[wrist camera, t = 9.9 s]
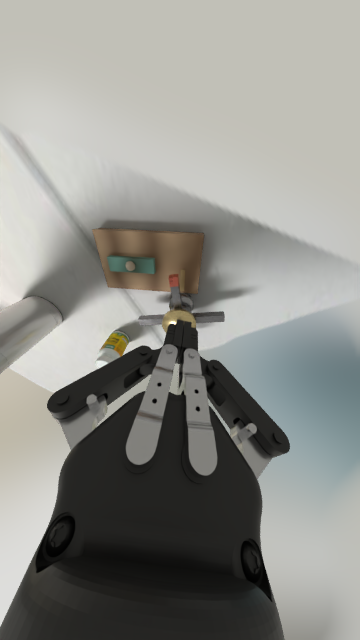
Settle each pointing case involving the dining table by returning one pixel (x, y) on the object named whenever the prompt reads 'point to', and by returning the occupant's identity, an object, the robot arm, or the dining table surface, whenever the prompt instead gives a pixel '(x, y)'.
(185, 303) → the capstan
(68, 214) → the dining table surface
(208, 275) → the dining table surface
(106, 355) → the supplement bottle
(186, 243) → the stand
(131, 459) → the robot arm
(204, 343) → the dining table surface
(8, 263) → the dining table surface
